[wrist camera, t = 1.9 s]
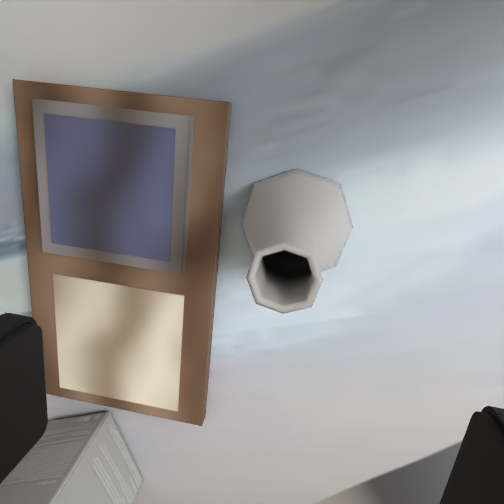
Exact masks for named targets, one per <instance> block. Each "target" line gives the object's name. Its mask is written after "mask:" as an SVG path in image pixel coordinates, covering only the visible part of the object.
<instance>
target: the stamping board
mask: <svg viewBox="0 0 504 504" xmlns="http://www.w3.org/2000/svg"><path fill="white" fill-rule="evenodd" d="M13 89H14V101H15V113H16V125H17V137H18V149H19V161H20V173H21V185H22V196H23V208H24V220H25V232H26V244H27V256H28V268H29V280H30V292H31V304H32V316H33V318H34V319H35V321H36V322H37V325H38V326H40V327H41V329H42V337H43V353H44V369H45V385H46V394H51V395H56V396H60V397H65V398H70V399H75V400H80V401H84V402H89V403H94V404H99V405H104V406H108V407H113V408H118V409H123V410H127V411H132V412H137V413H142V414H147V415H151V416H156V417H161V418H166V419H171V420H175V421H180V422H185V423H190V424H195V425H199V426H202V424H203V422H204V419H205V414H206V402H207V390H208V378H209V365H210V353H211V341H212V329H213V317H214V305H215V293H216V281H217V269H218V257H219V245H220V233H221V221H222V209H223V197H224V185H225V173H226V160H227V148H228V136H229V124H230V112H231V103H228V102H220V101H210V100H201V99H192V98H182V97H173V96H164V95H154V94H145V93H136V92H126V91H117V90H108V89H99V88H89V87H80V86H71V85H61V84H52V83H43V82H33V81H24V80H15V79H13Z"/></svg>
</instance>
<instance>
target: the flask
mask: <svg viewBox="0 0 504 504" xmlns="http://www.w3.org/2000/svg"><path fill="white" fill-rule="evenodd" d="M241 224H242V227H243V230H244V233H245V235H246V238H247V241H248V244H249V247H250V250H251V252H252V255H253V260H252V263H251V266H250V268H249V271H248V274H247V277H246V278H247V280H248V283H249V286H250V289H251V291H252V294H253V297H254V300H255V302H256V304H258V305H261V306H264V307H267V308H269V309H272V310H275V311H278V312H280V313H283V314H284V313H288V312H292V311H296V310H300V309H305V308H309V307H312V305H313V302H314V300H315V297H316V295H317V293H318V290H319V288H320V285H321V283H322V276H321V273H320V272H321V271H323V270H326V269H329V268H332V267H334V266H336V264H337V262H338V260H339V257H340V255H341V253H342V250H343V248H344V245H345V243H346V241H347V238H348V236H349V234H350V231H351V229H352V227H353V226H352V223H351V219H350V216H349V212H348V208H347V205H346V201H345V198H344V194H343V191H342V187H341V184H340V183H337V182H334V181H331V180H328V179H326V178H323V177H320V176H317V175H314V174H311V173H308V172H305V171H302V170H300V169H295V170H292V171H288V172H285V173H282V174H279V175H276V176H273V177H270V178H267V179H264V180H261V181H258V182H255V183H254V185H253V188H252V192H251V195H250V198H249V201H248V204H247V207H246V210H245V214H244V217H243V220H242V223H241Z"/></svg>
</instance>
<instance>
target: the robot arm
mask: <svg viewBox="0 0 504 504" xmlns="http://www.w3.org/2000/svg"><path fill="white" fill-rule="evenodd" d="M47 422H48V417H47V401H46V385H45V369H44V353H43V337H42V329H41V327H40V326H38V325H37V322H36V321H35V319H34V318H32V317H27V316H22V315H17V314H12V313H5V314H2V315H0V484H1V483H2V481H3V480H4V479H5V478H6V477H7V476H8V475H9V474H10V472H11V471H12V470H13V469H14V468H15V467H16V466H17V465H18V463H19V462H20V461H21V460H22V459H23V458H24V457H25V456H26V454H27V453H28V452H29V451H30V450H31V449H32V448H33V446H34V445H35V444H36V443H37V442H38V441H39V440H40V438H41V437H42V436H43V434H44V432H45V430H46V427H47ZM440 504H504V409H501V408H496V407H491V406H487V407H485V408H484V409H482V411H481V412H475V413H474V414H473V415H472V417H471V420H470V422H469V425H468V428H467V431H466V433H465V436H464V439H463V441H462V444H461V447H460V450H459V453H458V455H457V458H456V461H455V463H454V466H453V469H452V472H451V474H450V477H449V480H448V483H447V485H446V488H445V490H444V493H443V496H442V499H441V501H440Z"/></svg>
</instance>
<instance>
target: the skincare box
mask: <svg viewBox="0 0 504 504" xmlns="http://www.w3.org/2000/svg"><path fill="white" fill-rule="evenodd" d="M143 482H144V481H143V478H142V476H141V474H140V472H139V470H138V468H137V466H136V464H135V462H134V460H133V458H132V456H131V454H130V452H129V450H128V448H127V446H126V444H125V442H124V440H123V438H122V436H121V434H120V432H119V430H118V427H117V425H116V423H115V421H114V419H113V417H112V415H111V413H110V412H109V411H108V412H101V413H95V414H90V415H85V416H79V417H72V418H66V419H58V420H52V421H50V422H48V423H47V427H46V430H45V432H44V434H43V436H42V437H41V438H40V440H39V441H38V442H37V443H36V444H35V445H34V446H33V448H32V449H31V450H30V451H29V452H28V453H27V454H26V456H25V457H24V458H23V459H22V460H21V461H20V462H19V463H18V465H17V466H16V467H15V468H14V469H13V470H12V471H11V472H10V474H9V475H8V476H7V477H6V478H5V479H4V480H3V481H2V483H1V484H0V504H134V502H135V500H136V497H137V495H138V493H139V491H140V488H141V486H142V484H143Z"/></svg>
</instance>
